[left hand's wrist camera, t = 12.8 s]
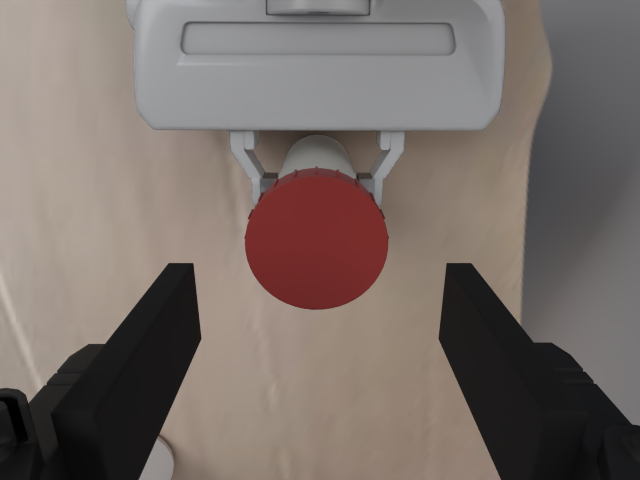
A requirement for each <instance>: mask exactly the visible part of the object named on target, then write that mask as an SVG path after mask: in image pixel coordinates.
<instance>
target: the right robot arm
mask: <svg viewBox="0 0 640 480" xmlns="http://www.w3.org/2000/svg"><path fill="white" fill-rule="evenodd" d="M125 3H126V11H127V16H128V19H129V22H130V25H131V27H132V28H133V30H134V87H135V100H136V107H137V111H138V113H139V115H140V116H141V117H142V118H143V119H144V120H145V121H146V123H147V124H148V125H149V126H150V127H151V128H152V129H155V130H229V132H230V147H231V151H232V153H233V154H234V156H235V157H236V159H237V160H238V162H239V163H240V165H241V167H242V168H243V170H244V171H245V173H246V174H247V176H248V177H249V178H251V182H252V201H253V205H256V204H257V203H258V199H259V197H260V194H261V193H262V192H263V193H264V192H265V191H266V190H267V189H268V188H269V187H270V186H271V185H272V184H273V183H274V182H275V180H276V179H277V178H278V173H270V172H265V170H264V169H263V167H262V165H261V164H260V162H259V160H258V159H257V157H256V155H255V154H254V152H253V149H254V148H255V146H256V145H257V144H258V143H259V136H258V130H334V131H376V144H377V145H378V146H379V147H380V149H382V152H381V153H380V155H379V157H378V158H377V160H376V162H375V163H374V165H373V167H372V168H371V170H370V171H369V172H370V173H357V177H356V178H357V179H358V181H359V183H360V184H362V185H363V186H364V187H365V188H366V189H367V190H368V192H369V193H370V192H372V194H373V196H374V198H375V202H376V204H377V206H381V203H382V190H383V179H385V178H386V177H387V175H388V174H389V172H390V171H391V169H392V168H393V166H394V165H395V163H396V162H397V160H398V159H399V157H400V156H401V154H402V153H403V151H404V139H405V131H481V130H483V129H485V128H486V127H487V126H488V125H489V124H490V122H491V121H492V120H493V119H494V118H495V116H496V115H497V114H498V112H499V109H500V105H501V100H502V92H503V83H504V70H505V48H506V43H505V15H504V10H503V6H502V3H501V0H125Z"/></svg>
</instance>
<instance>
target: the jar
mask: <svg viewBox="0 0 640 480" xmlns="http://www.w3.org/2000/svg"><path fill="white" fill-rule="evenodd" d="M315 166H318V168H324V169H331V170H335V171H336V169H338V170H339V172H341V173H344V174H346V175H348V176H350V177H352V178H353V179H355V178H356V175H355V172H354V169H353V167H352V164H351V161H350V158H349V156H348V153H347V151H346V150H345V148H344V147H343V146H342V145H341V144H340V143H339V142H338V141H337V140H335V139H333V138H331V137H329V136H325V135H309V136H306V137H304V138H302V139H300V140H298V141H297V142H296V143H295V144H294V145H293V146H292V147H291V148H290V150H289V151H288V153H287V156H286V158H285V161H284V164H283V166H282V169H281V171H280V174H279V177H278V179H280V178H282V177H283V176H285V175H287V174H290V173H292V172H294V170H295V169H297V171H298V170H302V169H309V168H315Z"/></svg>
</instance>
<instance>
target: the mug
mask: <svg viewBox="0 0 640 480" xmlns="http://www.w3.org/2000/svg"><path fill="white" fill-rule="evenodd" d="M174 461H175V460H174V457H173V454H172V451H171V449H170V448H169V446H168V445H167V443H166V442H165V441H164V440H163V439H161V438H160V437H159V436H158V438H157V440H156V442H155V444H154V447H153V449H152V451H151V453H150V456H149V458H148V460H147V462H146V465H145V467H144V469H143V471H142V474H141V476H140V478H139V480H171V477H172V474H173V471H174Z"/></svg>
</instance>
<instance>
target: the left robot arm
mask: <svg viewBox="0 0 640 480" xmlns="http://www.w3.org/2000/svg"><path fill="white" fill-rule="evenodd" d="M200 341H201V331H200V321H199V312H198V303H197V293H196V284H195V275H194V265H193V263H169V264H168V265H167V266H166V267H165V269H164V270H163V271H162V273H161V274H160V275H159V276H158V278H157V279H156V280H155V281H154V283H153V284H152V285H151V286H150V288H149V289H148V290H147V292H146V293H145V294H144V295H143V297H142V298H141V299H140V300H139V302H138V303H137V304H136V306H135V307H134V308H133V309H132V311H131V312H130V313H129V314H128V316H127V317H126V318H125V320H124V321H123V322H122V323H121V325H120V326H119V327H118V328H117V330H116V331H115V332H114V333H113V335H112V336H111V337H110V339H109V340H108V341H107V342H106V344H88V345H87V346H85V347H84V348H82V349H80V350H79V351H77V352H76V353H74V354H73V355H71V356H70V357H69V358H68V359H67V360H66V361H65V362H64V364H63V365H62V366H61V367H60V368H59V369H58V370H57V373H55V374H54V375H53V376H52V377H51V378H50V380H49V381H48V382H47V385H44V386H43V388H42V389H41V390H40V391H39V392H38V393H37V394H36V396H35V397H34V398H33V399H32V400H31V401H30V402H29V403H28V401H27V397H26V395H25V394H24V393H23V392H21V391H20V390H17V389H10V388H2V389H0V480H139V478H140V476H141V474H142V471H143V469H144V467H145V465H146V462H147V460H148V458H149V456H150V453H151V451H152V449H153V447H154V444H155V442H156V440H157V438H158V435H159V433H160V431H161V429H162V426H163V424H164V422H165V420H166V417H167V415H168V413H169V411H170V408H171V406H172V404H173V402H174V399H175V397H176V395H177V393H178V390H179V388H180V386H181V384H182V381H183V379H184V377H185V375H186V372H187V370H188V368H189V366H190V363H191V361H192V359H193V357H194V354H195V352H196V350H197V348H198V345H199V343H200ZM439 341H440V343H441V345H442V348H443V350H444V352H445V354H446V357H447V359H448V361H449V363H450V366H451V368H452V370H453V372H454V375H455V377H456V379H457V381H458V384H459V386H460V388H461V390H462V393H463V395H464V397H465V399H466V402H467V404H468V406H469V408H470V411H471V413H472V415H473V417H474V420H475V422H476V424H477V426H478V429H479V431H480V433H481V435H482V438H483V440H484V442H485V444H486V447H487V449H488V451H489V453H490V456H491V458H492V460H493V462H494V465H495V467H496V469H497V471H498V474H499V476H500V478H501V480H640V426H638V425H632V424H631V423H630V422H629V421H628V420H627V418H626V417H625V416H624V415H623V414H622V413H621V412H620V410H619V409H618V408H617V407H616V406H615V405H614V404H613V402H612V401H611V400H610V399H609V398H608V397H607V396H606V395H605V393H604V392H603V391H602V390H601V389H600V388H599V387H598V386H597V384H594V383H593V380H592V379H591V378H590V376H589V375H588V374H587V373H586V372H583V369H582V367H581V366H580V365H579V364H578V363H577V362H576V361H575V360H574V358H573V357H572V356H571V355H570V354H568V353H567V352H565V351H564V350H562V349H561V348H559V347H557V346H556V345H554V344H553V343H534V342H533V341H532V340H531V339H530V337H529V336H528V335H527V333H526V332H525V331H524V330H523V328H522V327H521V326H520V325H519V323H518V322H517V321H516V320H515V318H514V317H513V316H512V314H511V313H510V312H509V311H508V309H507V308H506V307H505V306H504V304H503V303H502V302H501V300H500V299H499V298H498V297H497V295H496V294H495V293H494V292H493V290H492V289H491V288H490V287H489V285H488V284H487V283H486V281H485V280H484V279H483V278H482V276H481V275H480V274H479V273H478V271H477V270H476V269H475V267H474V266H473V265H472V264H471V263H447V265H446V275H445V284H444V293H443V303H442V312H441V321H440V331H439Z"/></svg>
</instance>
